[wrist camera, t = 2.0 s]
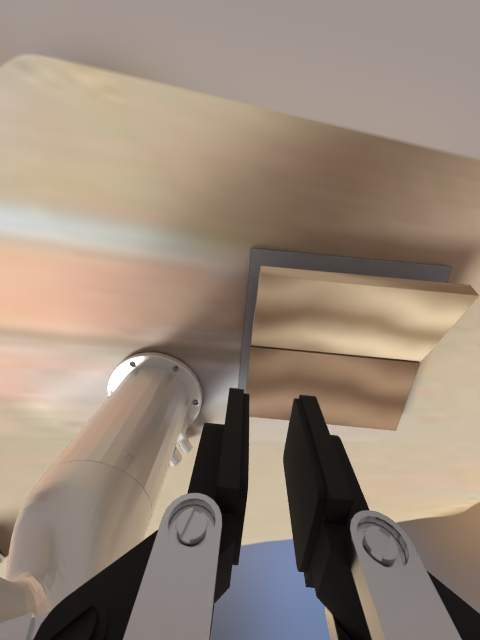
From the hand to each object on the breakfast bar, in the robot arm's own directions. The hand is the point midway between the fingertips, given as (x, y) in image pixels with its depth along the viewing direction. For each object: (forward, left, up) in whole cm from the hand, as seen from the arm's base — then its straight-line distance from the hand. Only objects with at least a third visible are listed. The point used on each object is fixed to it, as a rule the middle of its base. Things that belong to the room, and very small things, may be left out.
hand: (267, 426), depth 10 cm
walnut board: (-15, -3, -23) cm, 28 cm away
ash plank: (-6, -8, -20) cm, 23 cm away
